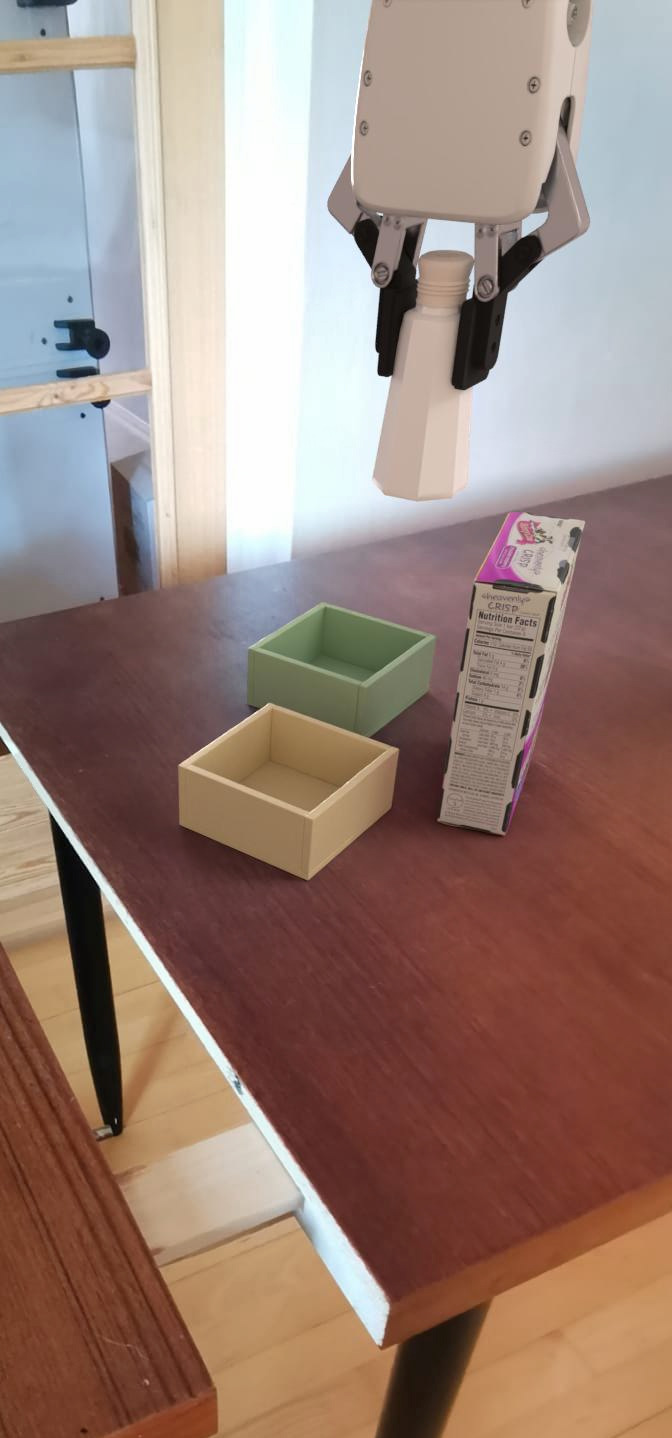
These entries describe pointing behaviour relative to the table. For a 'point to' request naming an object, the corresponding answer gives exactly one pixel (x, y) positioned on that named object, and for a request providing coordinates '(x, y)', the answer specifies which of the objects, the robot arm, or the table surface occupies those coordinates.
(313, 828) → the cream bin
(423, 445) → the pepper shaker
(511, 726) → the candy bar box
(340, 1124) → the table surface
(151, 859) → the table surface
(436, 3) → the robot arm
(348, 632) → the green bin
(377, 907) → the table surface
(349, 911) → the table surface
